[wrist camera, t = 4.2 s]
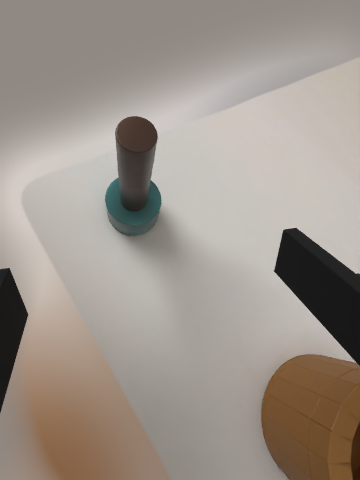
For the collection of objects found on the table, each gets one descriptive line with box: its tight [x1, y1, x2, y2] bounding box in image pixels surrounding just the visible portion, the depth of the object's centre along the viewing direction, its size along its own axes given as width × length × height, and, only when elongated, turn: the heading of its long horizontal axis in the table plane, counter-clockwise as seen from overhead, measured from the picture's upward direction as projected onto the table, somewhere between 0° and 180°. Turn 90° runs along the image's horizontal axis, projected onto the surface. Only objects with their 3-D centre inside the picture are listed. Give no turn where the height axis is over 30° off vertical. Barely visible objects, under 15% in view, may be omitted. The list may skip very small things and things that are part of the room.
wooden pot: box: [262, 354, 360, 480], centre depth 22 cm, size 11×11×9 cm
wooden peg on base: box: [105, 116, 161, 236], centre depth 22 cm, size 5×5×13 cm
